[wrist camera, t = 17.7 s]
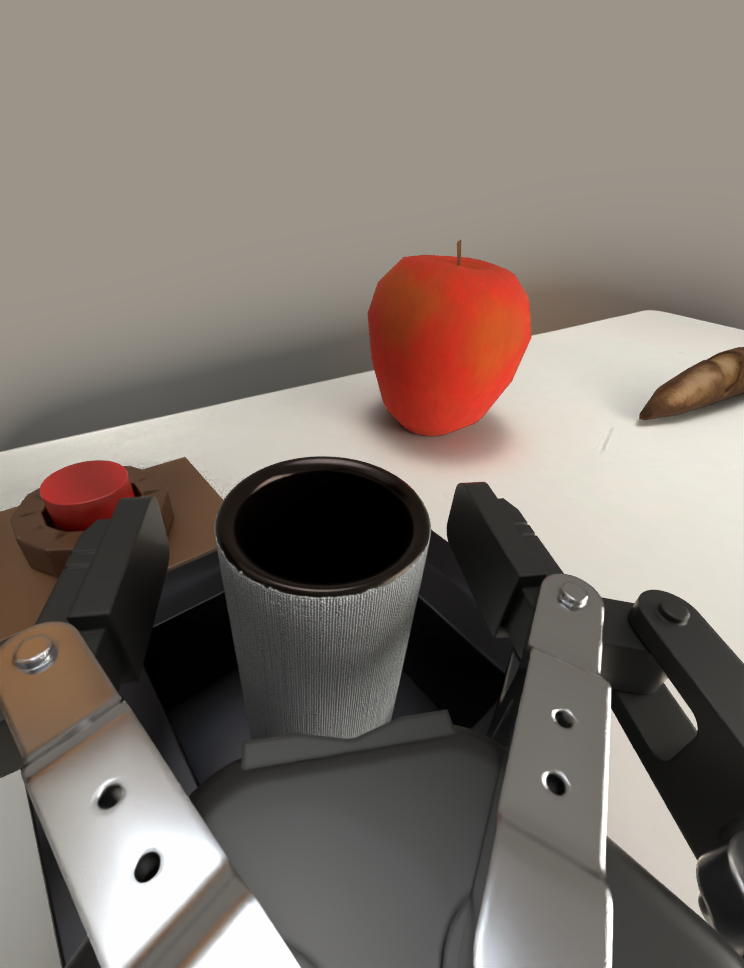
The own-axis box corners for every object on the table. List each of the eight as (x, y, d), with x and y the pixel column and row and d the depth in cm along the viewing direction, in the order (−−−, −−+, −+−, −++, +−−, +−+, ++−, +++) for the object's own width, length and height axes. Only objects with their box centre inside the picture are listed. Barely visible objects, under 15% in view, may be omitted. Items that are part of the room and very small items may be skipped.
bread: (662, 437, 39) (690, 385, 36) (611, 414, 42) (633, 364, 39) (805, 375, 57) (831, 337, 55) (762, 362, 61) (785, 326, 58)
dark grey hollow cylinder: (381, 675, 17) (417, 457, 11) (389, 812, 14) (451, 598, 8) (265, 675, 17) (238, 450, 11) (242, 816, 13) (182, 593, 7)
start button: (61, 544, 19) (48, 514, 18) (45, 503, 21) (31, 474, 20) (146, 514, 21) (137, 486, 20) (123, 479, 24) (114, 452, 22)
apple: (459, 485, 30) (514, 262, 22) (329, 427, 35) (334, 230, 27) (521, 425, 39) (577, 247, 30) (408, 385, 44) (430, 225, 36)
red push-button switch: (-25, 675, 17) (-64, 628, 15) (-45, 545, 22) (-75, 499, 20) (254, 548, 24) (249, 505, 22) (188, 471, 29) (180, 432, 27)
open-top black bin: (203, 1245, 8) (135, 1344, 5) (61, 736, 15) (-5, 645, 12) (564, 753, 16) (625, 673, 13) (362, 565, 23) (370, 482, 20)
